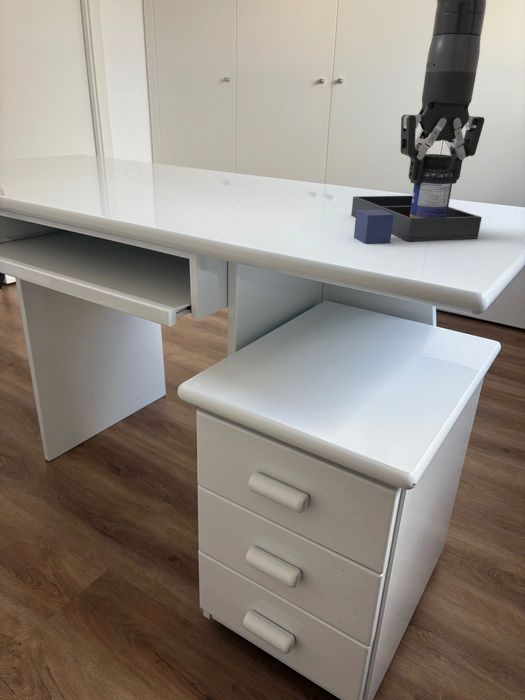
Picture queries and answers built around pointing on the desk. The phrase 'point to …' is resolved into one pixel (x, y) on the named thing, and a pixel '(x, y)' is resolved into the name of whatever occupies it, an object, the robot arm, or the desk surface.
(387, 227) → the navy block
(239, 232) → the desk surface
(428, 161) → the pill bottle
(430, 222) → the sorting tray
